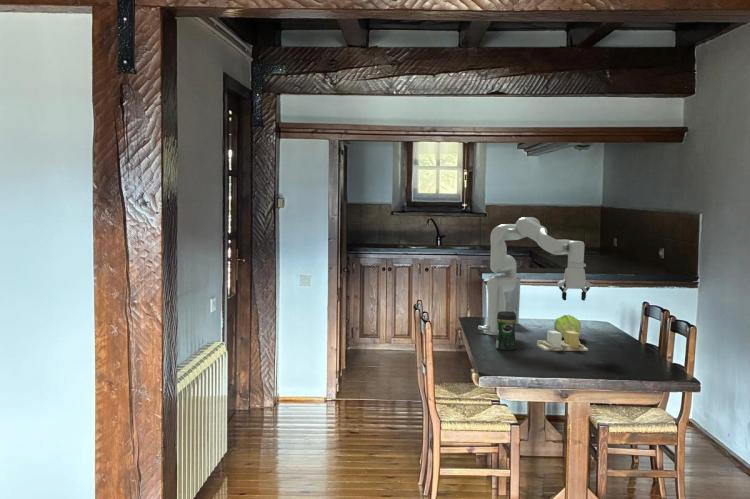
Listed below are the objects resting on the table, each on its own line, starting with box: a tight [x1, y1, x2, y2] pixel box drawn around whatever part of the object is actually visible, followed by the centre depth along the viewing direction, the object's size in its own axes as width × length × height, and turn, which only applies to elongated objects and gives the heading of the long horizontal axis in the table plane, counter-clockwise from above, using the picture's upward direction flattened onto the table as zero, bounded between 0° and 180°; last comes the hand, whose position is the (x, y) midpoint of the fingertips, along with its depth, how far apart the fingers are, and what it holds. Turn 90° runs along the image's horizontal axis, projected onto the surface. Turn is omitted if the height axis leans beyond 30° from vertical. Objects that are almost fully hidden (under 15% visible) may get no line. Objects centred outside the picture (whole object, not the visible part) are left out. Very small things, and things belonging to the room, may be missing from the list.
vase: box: [504, 276, 522, 325], centre depth 450 cm, size 10×10×27 cm
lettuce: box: [553, 314, 582, 339], centre depth 405 cm, size 13×22×14 cm
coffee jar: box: [495, 311, 517, 351], centre depth 374 cm, size 10×8×19 cm
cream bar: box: [546, 330, 563, 347], centre depth 380 cm, size 8×4×7 cm, turn 7°
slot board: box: [536, 340, 589, 352], centre depth 381 cm, size 22×12×2 cm, turn 96°
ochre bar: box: [563, 331, 580, 348], centre depth 381 cm, size 8×4×7 cm, turn 6°
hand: (573, 300), depth 379 cm, fingers open, 9 cm apart
